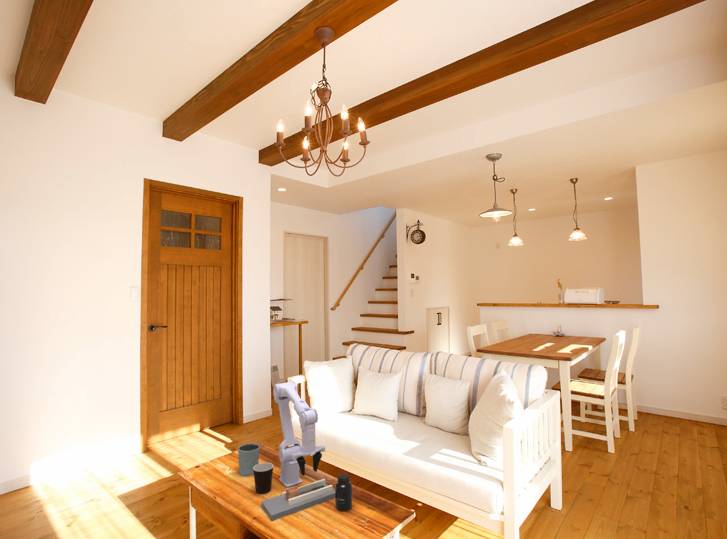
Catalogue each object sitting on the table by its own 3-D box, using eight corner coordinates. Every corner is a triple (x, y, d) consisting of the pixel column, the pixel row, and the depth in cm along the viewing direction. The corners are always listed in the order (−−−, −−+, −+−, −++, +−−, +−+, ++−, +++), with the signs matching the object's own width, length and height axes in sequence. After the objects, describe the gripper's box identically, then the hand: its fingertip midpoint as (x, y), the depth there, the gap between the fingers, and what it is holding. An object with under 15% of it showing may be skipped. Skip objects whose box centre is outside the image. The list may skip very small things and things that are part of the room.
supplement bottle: (337, 513, 146) (336, 481, 147) (333, 503, 153) (333, 473, 153) (354, 510, 148) (353, 478, 149) (350, 501, 155) (349, 471, 155)
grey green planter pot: (236, 470, 185) (236, 445, 185) (258, 465, 189) (257, 441, 190) (239, 479, 175) (239, 452, 176) (261, 474, 180) (261, 448, 180)
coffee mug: (268, 496, 160) (267, 472, 160) (249, 494, 161) (249, 470, 162) (279, 482, 171) (279, 460, 172) (262, 481, 173) (261, 459, 173)
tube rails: (282, 497, 155) (282, 492, 155) (324, 483, 165) (324, 478, 166) (289, 505, 148) (289, 500, 149) (332, 490, 159) (332, 485, 159)
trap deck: (261, 506, 152) (261, 501, 152) (322, 485, 167) (322, 481, 168) (271, 521, 142) (271, 515, 142) (336, 497, 158) (336, 492, 158)
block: (286, 498, 154) (285, 488, 154) (295, 495, 156) (295, 485, 156) (289, 503, 150) (289, 492, 151) (299, 499, 153) (299, 489, 153)
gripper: (296, 446, 151) (296, 481, 151) (328, 438, 160) (328, 471, 159) (289, 441, 157) (290, 474, 156) (320, 433, 165) (321, 465, 164)
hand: (309, 472), depth 158 cm, fingers open, 5 cm apart
